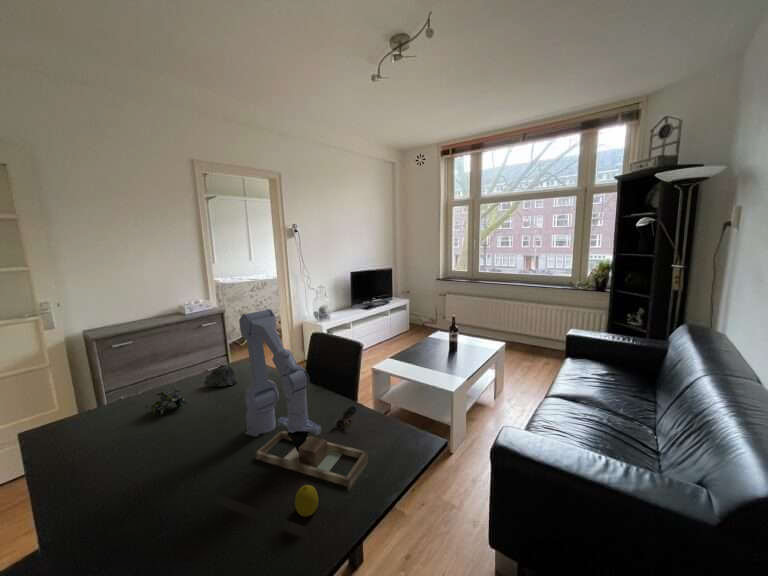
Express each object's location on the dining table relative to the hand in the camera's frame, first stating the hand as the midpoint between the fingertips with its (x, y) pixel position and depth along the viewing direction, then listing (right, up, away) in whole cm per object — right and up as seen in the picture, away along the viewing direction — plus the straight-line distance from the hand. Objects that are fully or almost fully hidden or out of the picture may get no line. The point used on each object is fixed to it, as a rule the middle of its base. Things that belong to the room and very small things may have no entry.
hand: (300, 450), depth 99 cm
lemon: (+7, -7, -19) cm, 21 cm away
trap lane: (+3, -3, -1) cm, 5 cm away
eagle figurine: (+12, 0, +17) cm, 21 cm away
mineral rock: (-51, +4, +54) cm, 74 cm away
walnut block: (+4, -2, -1) cm, 5 cm away
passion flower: (-61, 0, +31) cm, 69 cm away
